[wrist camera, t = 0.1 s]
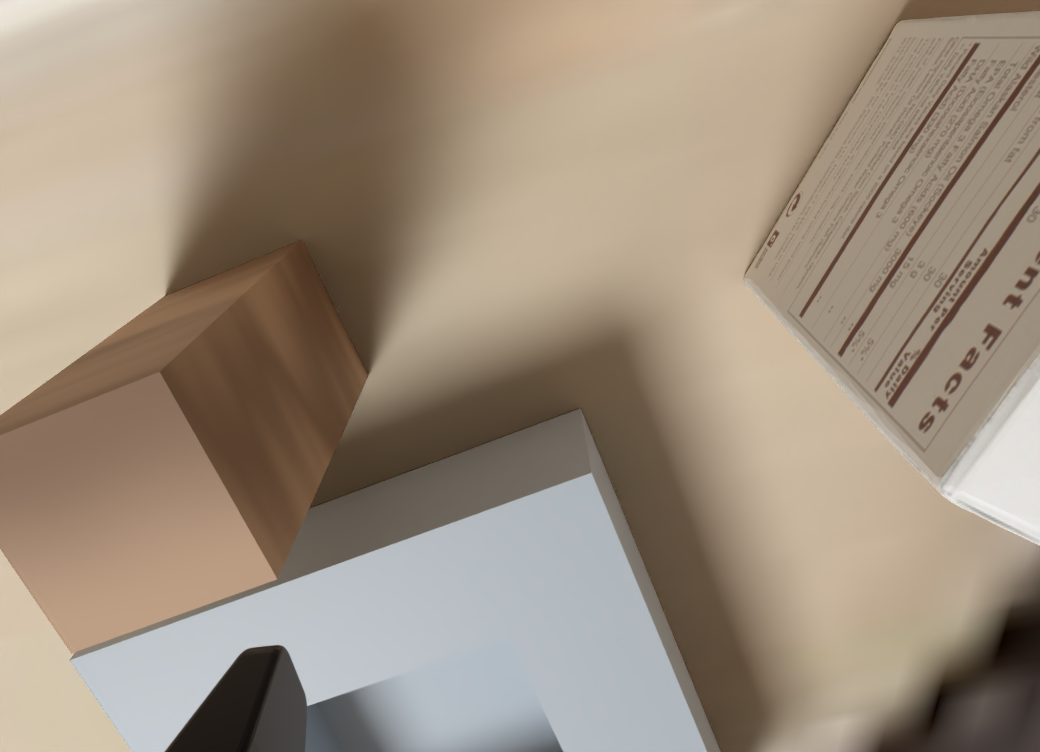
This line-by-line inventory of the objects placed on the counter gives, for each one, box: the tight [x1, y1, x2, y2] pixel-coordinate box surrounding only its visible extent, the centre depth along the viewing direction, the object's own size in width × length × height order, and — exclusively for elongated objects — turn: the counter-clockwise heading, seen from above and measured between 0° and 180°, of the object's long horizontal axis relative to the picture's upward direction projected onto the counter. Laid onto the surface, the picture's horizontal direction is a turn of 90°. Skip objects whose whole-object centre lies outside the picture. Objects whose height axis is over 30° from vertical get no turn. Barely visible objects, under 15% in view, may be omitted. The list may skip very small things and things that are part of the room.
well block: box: [70, 408, 721, 752], centre depth 26 cm, size 14×14×4 cm
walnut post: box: [0, 240, 368, 653], centre depth 20 cm, size 4×4×10 cm
